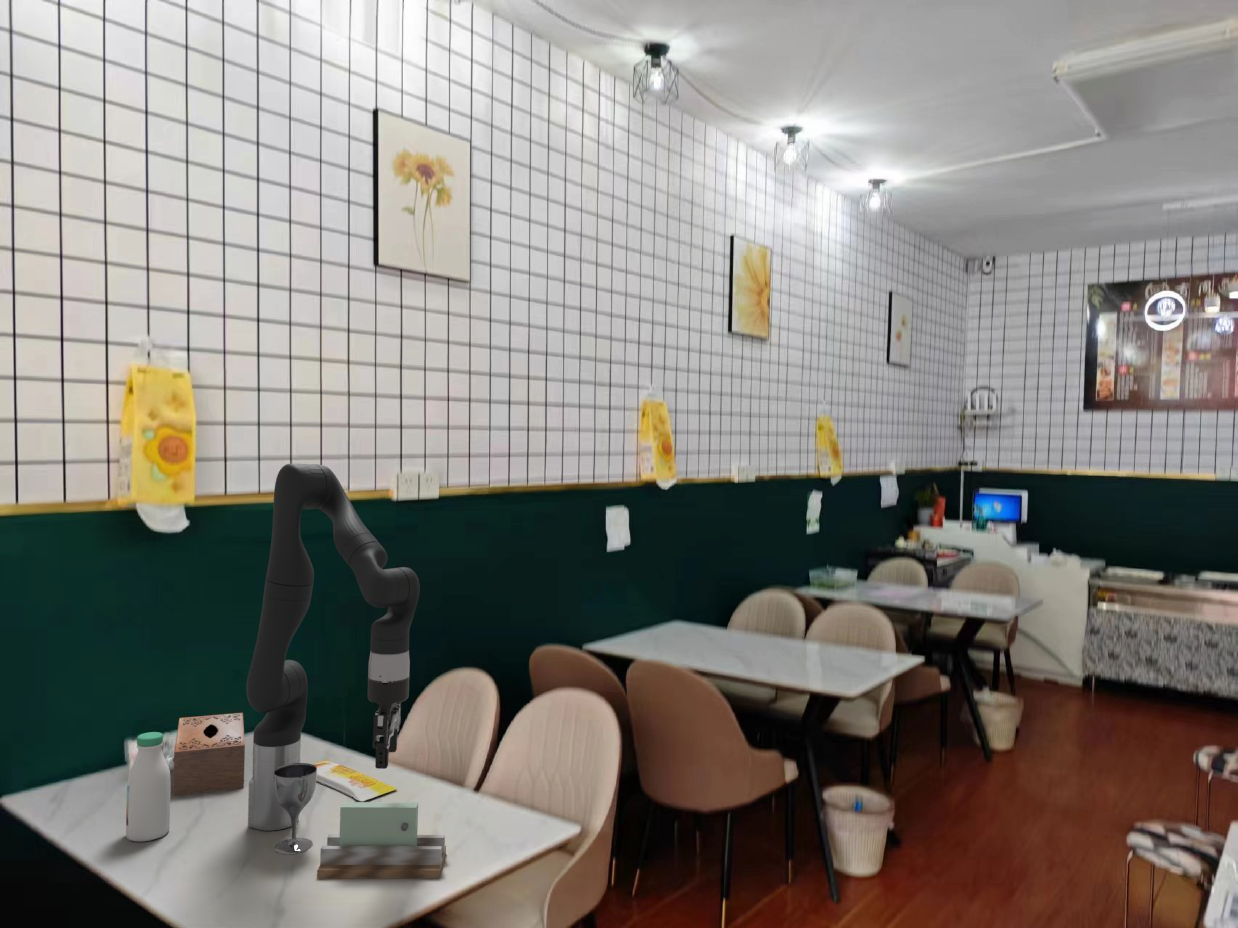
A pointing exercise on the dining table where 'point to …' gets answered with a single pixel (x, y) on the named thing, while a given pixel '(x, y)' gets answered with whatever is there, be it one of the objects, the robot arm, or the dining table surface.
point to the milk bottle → (148, 791)
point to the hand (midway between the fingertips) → (386, 759)
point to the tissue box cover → (209, 754)
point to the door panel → (378, 824)
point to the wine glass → (294, 800)
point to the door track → (383, 859)
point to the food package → (350, 781)
